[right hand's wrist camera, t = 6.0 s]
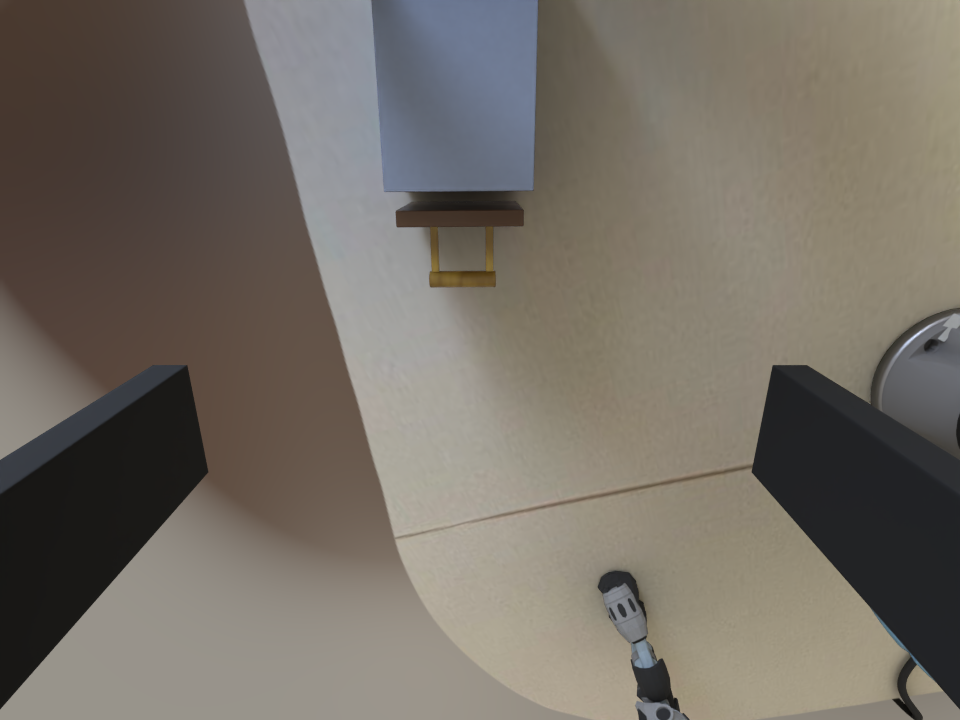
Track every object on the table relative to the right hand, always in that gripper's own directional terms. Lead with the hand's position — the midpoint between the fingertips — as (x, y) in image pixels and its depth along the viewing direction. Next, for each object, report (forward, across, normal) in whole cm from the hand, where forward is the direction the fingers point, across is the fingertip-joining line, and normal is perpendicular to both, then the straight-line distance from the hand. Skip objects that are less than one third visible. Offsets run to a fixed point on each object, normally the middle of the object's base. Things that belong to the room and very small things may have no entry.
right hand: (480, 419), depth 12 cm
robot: (+41, -17, +44) cm, 62 cm away
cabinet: (+41, +2, -13) cm, 43 cm away
